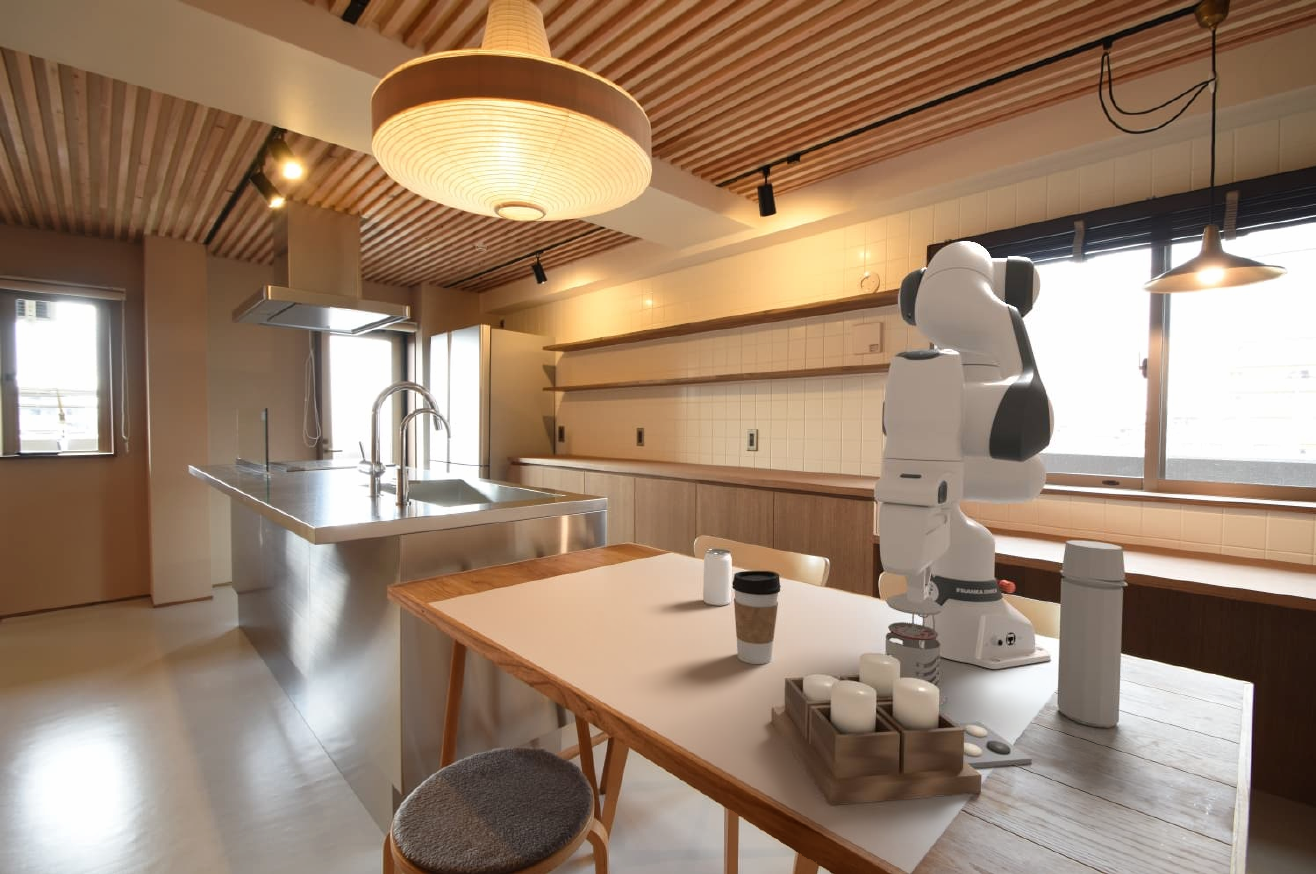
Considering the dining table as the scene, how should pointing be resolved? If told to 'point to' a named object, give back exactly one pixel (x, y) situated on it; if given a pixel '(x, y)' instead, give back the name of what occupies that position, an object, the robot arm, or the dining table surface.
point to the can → (717, 577)
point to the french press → (915, 641)
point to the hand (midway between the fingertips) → (917, 599)
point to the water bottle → (1091, 632)
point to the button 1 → (818, 687)
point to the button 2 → (853, 707)
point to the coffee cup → (755, 614)
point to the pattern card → (989, 747)
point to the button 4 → (915, 704)
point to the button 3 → (879, 672)
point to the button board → (873, 752)
